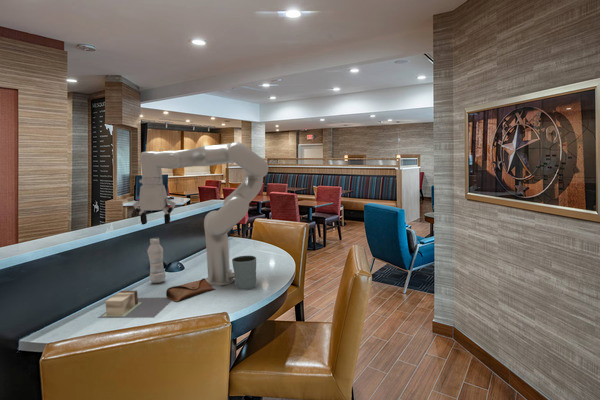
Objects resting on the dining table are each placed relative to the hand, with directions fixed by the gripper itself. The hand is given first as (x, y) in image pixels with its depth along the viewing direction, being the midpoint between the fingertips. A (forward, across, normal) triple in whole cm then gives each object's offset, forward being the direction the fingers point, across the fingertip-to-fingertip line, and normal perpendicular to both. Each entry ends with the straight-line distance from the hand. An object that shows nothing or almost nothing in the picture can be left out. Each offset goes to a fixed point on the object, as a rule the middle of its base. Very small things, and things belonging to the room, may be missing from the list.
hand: (155, 223), depth 145 cm
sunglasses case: (+28, +15, -5) cm, 32 cm away
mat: (+28, 0, -18) cm, 34 cm away
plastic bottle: (+28, -6, +10) cm, 31 cm away
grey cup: (+28, +35, +4) cm, 45 cm away
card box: (+28, -5, -20) cm, 35 cm away
